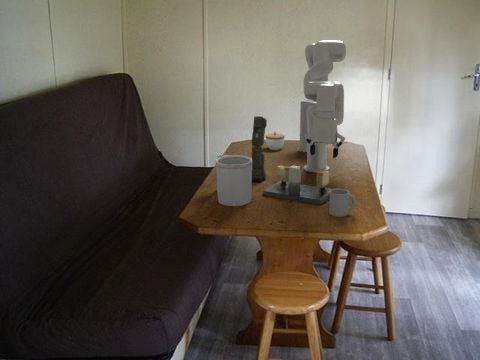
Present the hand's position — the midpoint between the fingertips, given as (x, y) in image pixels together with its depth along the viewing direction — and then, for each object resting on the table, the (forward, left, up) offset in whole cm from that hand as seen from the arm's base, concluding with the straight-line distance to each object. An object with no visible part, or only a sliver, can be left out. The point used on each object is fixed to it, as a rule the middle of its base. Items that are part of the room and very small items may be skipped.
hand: (323, 156), depth 231 cm
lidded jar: (-66, -54, -17) cm, 87 cm away
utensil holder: (+24, -29, -17) cm, 41 cm away
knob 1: (0, -18, -15) cm, 23 cm away
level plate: (+4, -9, -17) cm, 20 cm away
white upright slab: (-71, -33, -17) cm, 81 cm away
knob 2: (0, 0, -15) cm, 15 cm away
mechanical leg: (-9, -35, -17) cm, 40 cm away
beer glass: (+13, -40, -17) cm, 45 cm away
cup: (+18, +15, -17) cm, 29 cm away
